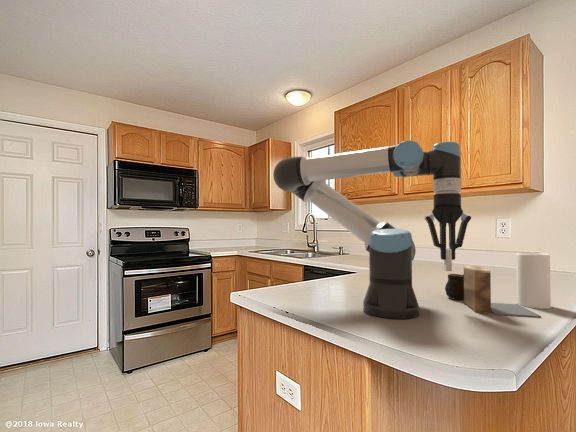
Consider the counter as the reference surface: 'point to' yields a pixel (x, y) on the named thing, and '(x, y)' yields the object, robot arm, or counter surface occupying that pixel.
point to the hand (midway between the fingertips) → (448, 270)
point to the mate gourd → (455, 286)
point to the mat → (511, 310)
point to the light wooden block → (477, 289)
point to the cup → (533, 280)
